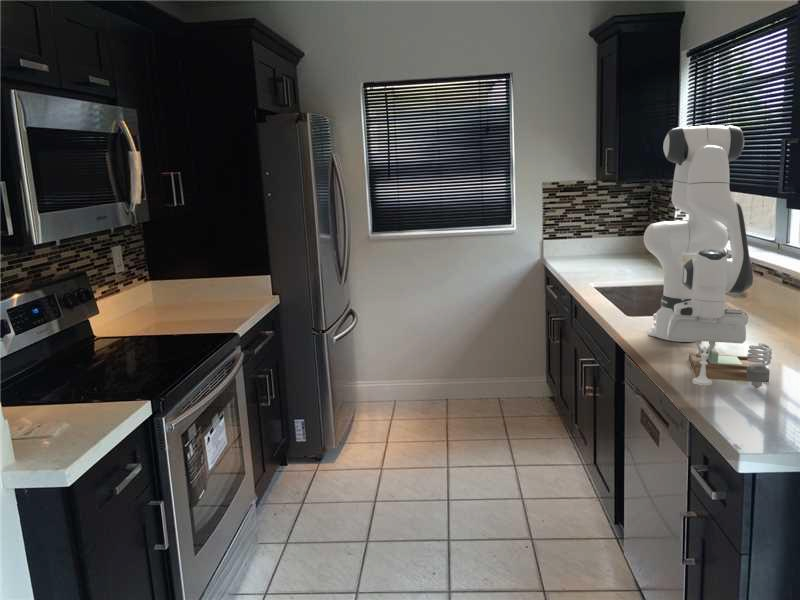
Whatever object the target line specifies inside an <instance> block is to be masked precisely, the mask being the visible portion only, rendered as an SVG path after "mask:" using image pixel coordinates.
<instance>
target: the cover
mask: <svg viewBox="0 0 800 600" xmlns="http://www.w3.org/2000/svg"><path fill="white" fill-rule="evenodd" d="M715 347H716V346H715ZM715 347H714V348H713V349H712V350H711V351H710V357H708V358H707V359H708V361H709V363H713V364H728V365H742V363H741V362H740V360H739V359H738V357H737V356H738V355H732V356H720V355H721V354H719V353H718V351H717V349H716V348H715Z"/></svg>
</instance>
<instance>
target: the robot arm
mask: <svg viewBox="0 0 800 600" xmlns="http://www.w3.org/2000/svg"><path fill="white" fill-rule="evenodd" d="M744 146H745V138H744V133H743V130H742V129H741V128H740V127H738V126H734V125H729V124H728V125H726V126H725V125H714V124H712V125H710V124H704V125H698V126H697V125H696V126H687V127H682V126H679V127H675V128H672V129H670V130H668V132H667V133H666V136H665V138H664V140H663V146H662V147H663V148H662V149H663V153H664V157H665V159H666V160H667V161H668V162H671V163H672V164H673V163H674V164H675V168H674V173H673V183H672V189H671V190H672V192H671V204H672V205H673V207H674V208H676V209H678V210H679V211H681V212H683V213H685V214H687V215H688V220H680V221H679V220H670V221H669V220H668V221H667V220H664V221H659V222H658V221H657V222H655V223H654V222H653V223H650V224H649V225H648V226H647V227H646V228H645V231H644V234H643V244H644V246H645V248H646V250H648V252H649V253H651V254H652V255H653V256H654V257H655V258H656V259H657V260H658V262H659V264H660V266H661V268H662V272H663V273H662V274H663V294H662V296H661V298H660V305H661V307H660V308H659V309H658V310H657V311H656V313H653V317H652V318H653V321H654V322H653V324H652V326H651V328H650V329H649V331H648V336H650V337H654V338H655V337H656V338H659V339H661V340H665V341H670V342H681V343H682V342H683V343H685V342H687V343H689V342H694V343H695V345H696V348H697V349H698V355H699V356H701V355H700V354H701V353H703V352H704V351H703V349H704V348H701V346H702V342H708V344H709V345H708V347H706V350H707V352H706V353H707V354H708V355H709V356H708V357H710V351H711V350H712V349H713V348H714V347H716V343H727V344H744V342H746V340H747V329H746V328H747V327H746V325H748V323H749V315H748V313H747V312H745V311H743V310H741V309H727V308H726V306H727V305H726V304H727V294H733V295H734V294H735V295H741V294H743V293H745V292H746V291H747V290H749V289H750V288H751V287H752V285H753V282H754V270H753V267H752V263H751V262H752V261H751V257H750V252H749V246H748V245H749V244H748V238H747V237H748V236H747V230H746V229H747V228H746V223H745V217H744V214H743V213H744V212H743V209H742V206H741V204H740V203H739V202H737V201H735V200H734V198H733V196H732V193H731V191H730V164H729V163H730V162H733V161H735V160H737V159H739V157H740V156H741V154H742V153H743V149H744ZM728 242H729V244H730V252H731V257H730V258H728V255H727V253H725V252H723V250H724V249H725V248H727V245H728ZM686 255H689V256H691V255H695V256H696V257H695V258H691V259H690V260H688V261H687V262H684V259H683V256H686Z"/></svg>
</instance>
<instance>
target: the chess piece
mask: <svg viewBox="0 0 800 600" xmlns="http://www.w3.org/2000/svg"><path fill="white" fill-rule="evenodd" d="M702 349H703V351H704V352H703V353H701V354H700V355H701V359H702V361H700V364H702V366H701V371H700V375H699V376H698V377H696V376H695V377H694V378H692V381H691V383H693V382H694V383H696V384H695V385H697V384H698V386H702V385H704V386H706V387H708V386H712V385H713V381H712V380H713V379H708V378H707V377H706V364H708V362H706V360H707V358H708V356H709V355H708V354H707V353H706V352H707V350H706V349H707V346H704V347H703V348H702ZM694 383H693V384H694Z"/></svg>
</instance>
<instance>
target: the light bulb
mask: <svg viewBox="0 0 800 600" xmlns="http://www.w3.org/2000/svg"><path fill="white" fill-rule="evenodd" d="M748 348H749V349H748V350H747V354H746V355H747V356H748V357H750V358H748V359H747V360H748V361H750V362H757V363H761V364H753V365H752V366H748V367H747V370H746V371H747V379H749V380H751V382H750V384H751V385H752V386H753V387H754V388H756V389H758V388H761V387H762V386H763V383H765V381H767V380H768V378H769V379H770V375H769V374H771V373H770V370H771V369H769V368H768V367H767V366H768V365H770V364H771V363H772V356H773V352H772V351H773V348H772V346H770V345H768V344H765V343H761V342H759V343H758V345H753V344H751V345H749V346H748ZM757 358H758V359H757Z"/></svg>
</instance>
